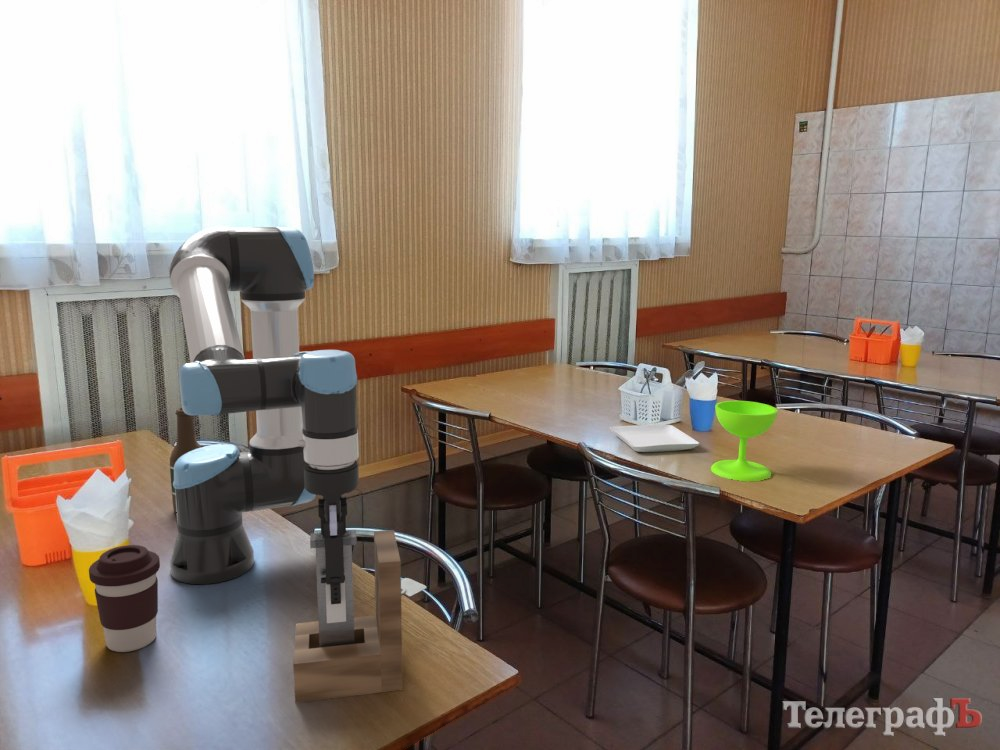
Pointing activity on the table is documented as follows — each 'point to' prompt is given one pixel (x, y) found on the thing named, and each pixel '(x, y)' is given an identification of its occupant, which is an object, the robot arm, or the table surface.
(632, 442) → the salad plate
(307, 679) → the slotted wooden l-bracket
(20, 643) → the table surface
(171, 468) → the beer bottle
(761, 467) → the wineglass
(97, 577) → the coffee cup
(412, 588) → the mounting bracket
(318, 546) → the rail
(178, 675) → the table surface
